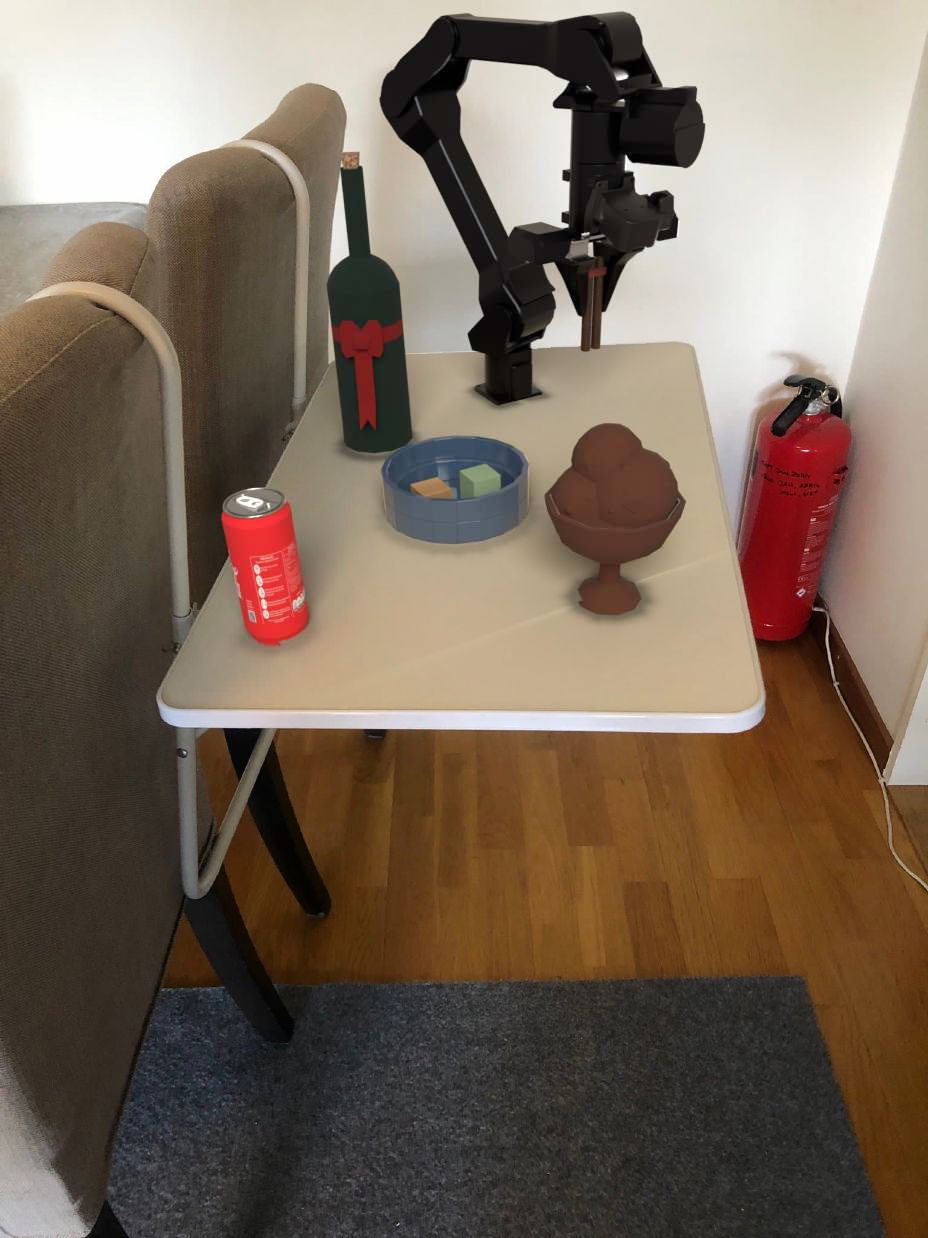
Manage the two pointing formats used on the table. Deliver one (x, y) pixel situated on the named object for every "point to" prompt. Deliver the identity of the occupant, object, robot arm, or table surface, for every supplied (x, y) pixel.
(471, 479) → the sage block
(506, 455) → the bowl
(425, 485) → the beech block
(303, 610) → the beverage can
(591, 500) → the ice cream bowl
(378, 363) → the wine bottle
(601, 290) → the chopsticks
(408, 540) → the table surface
